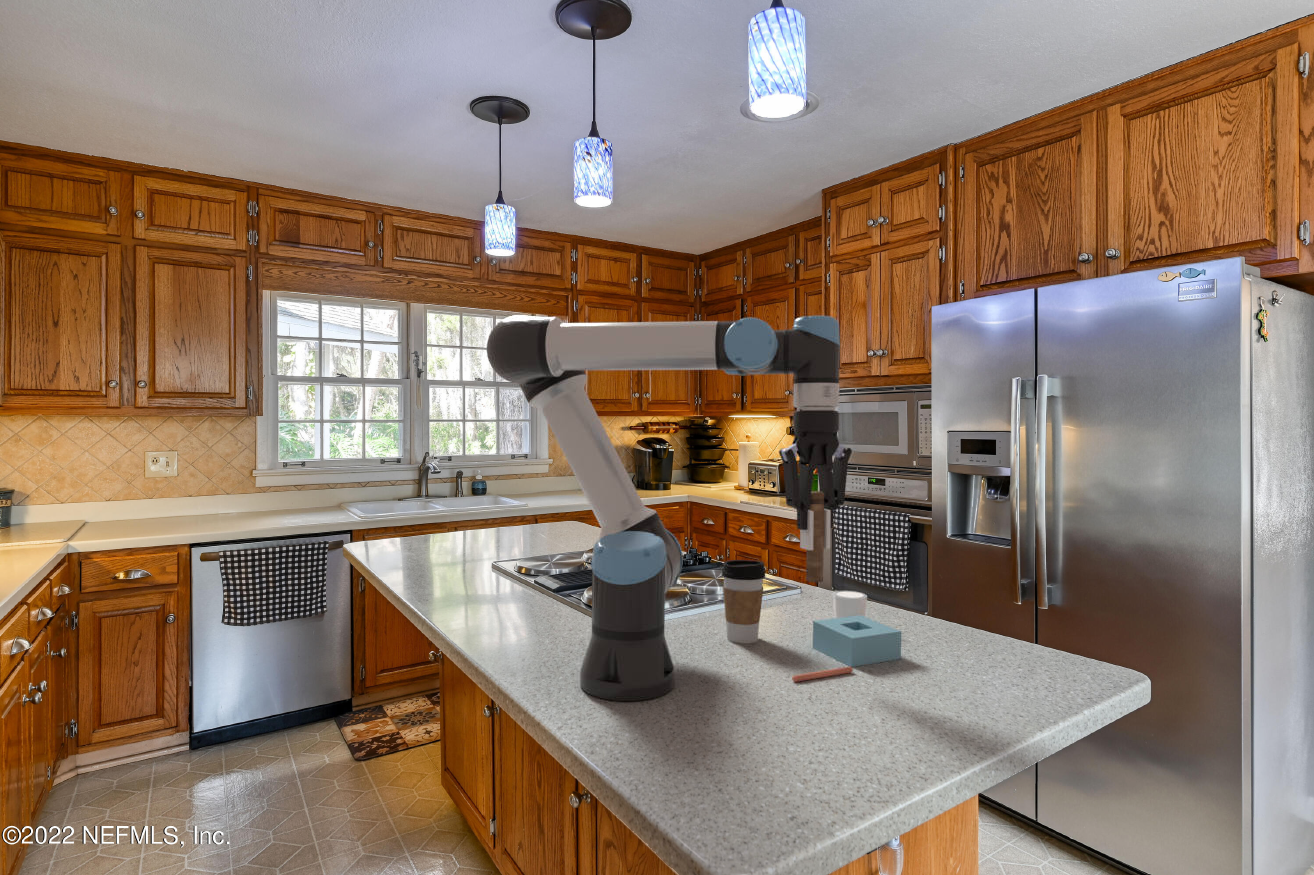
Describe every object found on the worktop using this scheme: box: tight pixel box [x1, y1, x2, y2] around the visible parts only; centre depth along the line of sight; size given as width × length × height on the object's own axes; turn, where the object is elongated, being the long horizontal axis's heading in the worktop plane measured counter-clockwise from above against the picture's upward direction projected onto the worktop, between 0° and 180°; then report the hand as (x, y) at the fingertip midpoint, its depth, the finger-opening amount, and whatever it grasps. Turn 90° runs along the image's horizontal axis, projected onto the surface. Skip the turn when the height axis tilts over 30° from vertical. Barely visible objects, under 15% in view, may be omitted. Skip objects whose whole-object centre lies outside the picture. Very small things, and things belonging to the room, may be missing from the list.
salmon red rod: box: [791, 666, 854, 683], centre depth 118 cm, size 12×1×1 cm, turn 114°
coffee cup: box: [721, 559, 766, 644], centre depth 138 cm, size 8×8×15 cm
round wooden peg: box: [805, 490, 825, 583], centre depth 121 cm, size 3×3×15 cm
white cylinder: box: [832, 590, 868, 618], centre depth 146 cm, size 7×7×7 cm
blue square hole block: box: [812, 615, 902, 668], centre depth 130 cm, size 11×11×5 cm
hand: (815, 547), depth 121 cm, fingers closed on round wooden peg, 3 cm apart
